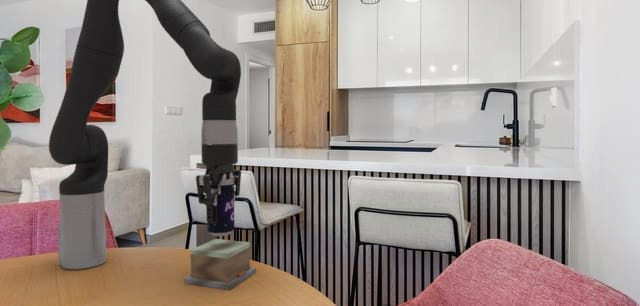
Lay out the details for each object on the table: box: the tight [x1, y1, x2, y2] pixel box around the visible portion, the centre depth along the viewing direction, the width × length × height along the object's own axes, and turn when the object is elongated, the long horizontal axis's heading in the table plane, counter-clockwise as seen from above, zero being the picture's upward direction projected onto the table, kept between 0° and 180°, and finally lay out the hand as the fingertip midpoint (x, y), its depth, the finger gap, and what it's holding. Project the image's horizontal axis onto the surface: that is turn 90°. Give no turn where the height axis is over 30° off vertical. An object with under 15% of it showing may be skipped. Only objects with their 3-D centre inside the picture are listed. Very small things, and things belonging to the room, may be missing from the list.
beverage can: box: [206, 178, 235, 237], centre depth 88 cm, size 6×6×12 cm
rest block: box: [183, 238, 257, 291], centre depth 88 cm, size 11×11×7 cm
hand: (220, 219), depth 88 cm, fingers closed on beverage can, 5 cm apart
